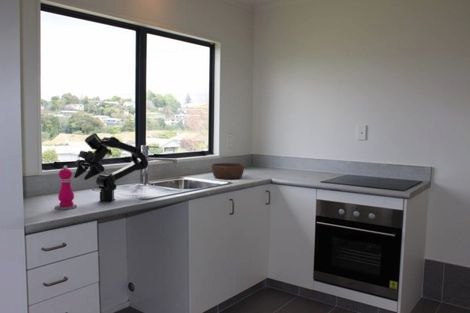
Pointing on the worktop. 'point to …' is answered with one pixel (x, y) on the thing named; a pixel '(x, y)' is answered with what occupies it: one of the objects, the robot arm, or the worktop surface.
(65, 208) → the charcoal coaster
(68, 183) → the pepper mill
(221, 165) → the wooden bowl
